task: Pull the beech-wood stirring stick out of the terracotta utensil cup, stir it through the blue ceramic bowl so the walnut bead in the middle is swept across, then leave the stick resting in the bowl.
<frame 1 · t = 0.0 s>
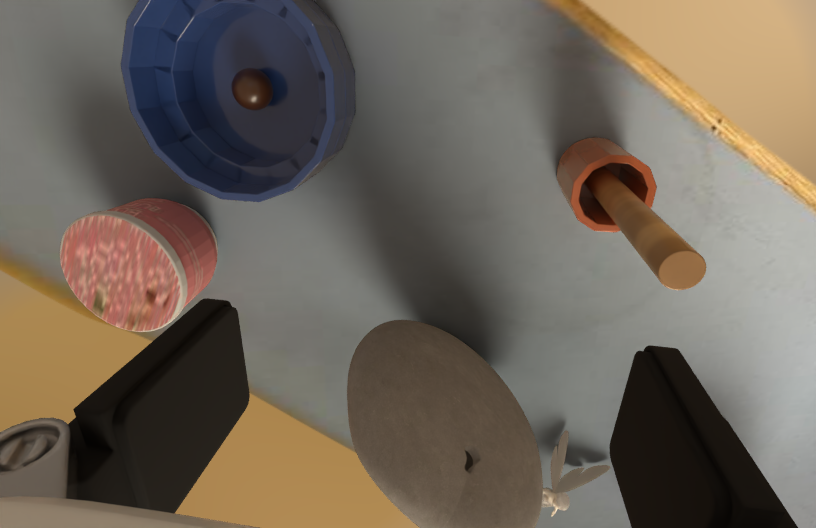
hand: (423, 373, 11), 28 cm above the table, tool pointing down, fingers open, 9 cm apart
bead: (252, 89, 35), point 2 cm above the table, touching bowl
fairy figurine: (553, 464, 48), on the table
brown oval piece: (457, 349, 44), on the table
holder: (590, 170, 36), on the table
container: (181, 239, 44), on the table
bowl: (264, 87, 37), on the table
stick: (591, 171, 35), resting on holder
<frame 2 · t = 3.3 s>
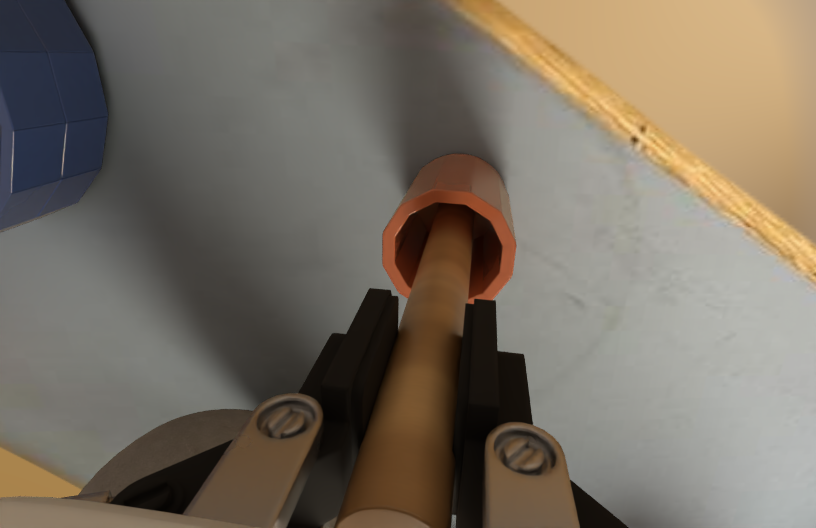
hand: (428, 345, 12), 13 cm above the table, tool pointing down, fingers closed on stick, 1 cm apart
brown oval piece: (311, 438, 32), on the table
holder: (457, 202, 24), on the table
stick: (457, 205, 23), point 1 cm above the table, touching gripper, holder
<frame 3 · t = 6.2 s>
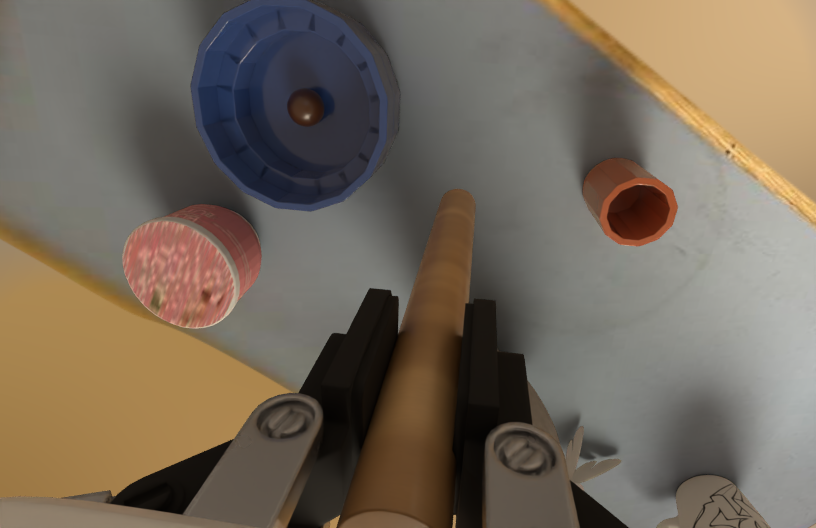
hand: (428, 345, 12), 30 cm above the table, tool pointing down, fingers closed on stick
bead: (305, 107, 38), point 2 cm above the table, touching bowl
fairy figurine: (567, 458, 52), on the table
brown oval piece: (481, 349, 48), on the table
holder: (613, 187, 39), on the table
container: (226, 242, 47), on the table
bowl: (314, 105, 40), on the table
mug: (691, 497, 51), on the table
stick: (457, 206, 23), point 18 cm above the table, touching gripper
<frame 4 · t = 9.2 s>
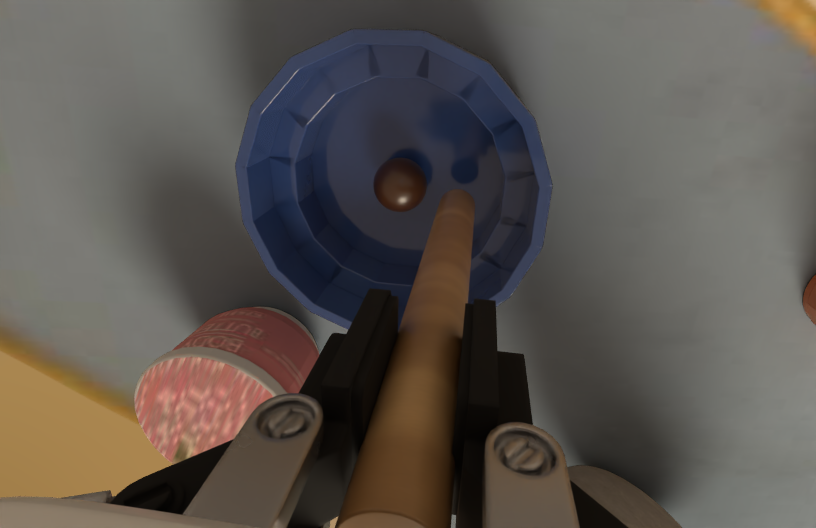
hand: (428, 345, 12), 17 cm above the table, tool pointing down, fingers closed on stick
bead: (400, 185, 26), point 2 cm above the table, touching bowl
brown oval piece: (618, 487, 35), on the table
container: (272, 348, 35), on the table
bowl: (406, 176, 28), on the table
stick: (457, 206, 23), point 4 cm above the table, touching gripper
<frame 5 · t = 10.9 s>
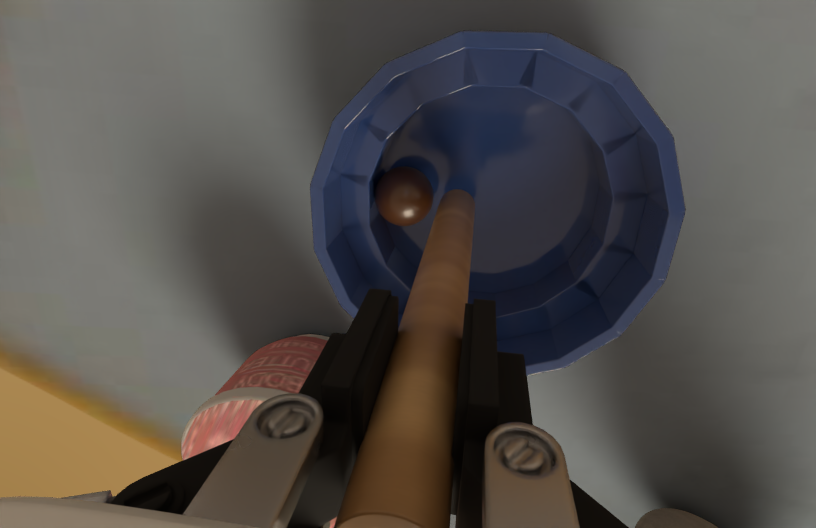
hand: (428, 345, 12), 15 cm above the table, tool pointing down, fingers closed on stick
bead: (404, 196, 23), point 2 cm above the table, tilted 156°, touching bowl
container: (320, 379, 32), on the table
bowl: (484, 194, 25), on the table
stick: (457, 206, 23), point 2 cm above the table, touching gripper
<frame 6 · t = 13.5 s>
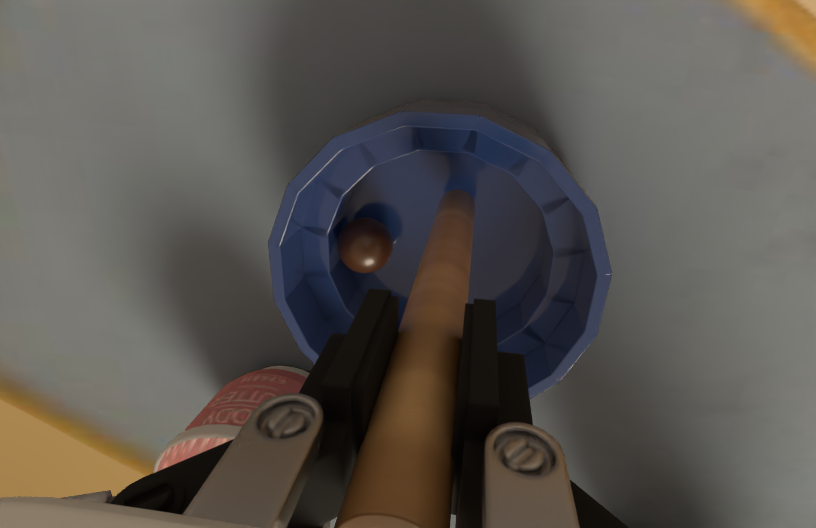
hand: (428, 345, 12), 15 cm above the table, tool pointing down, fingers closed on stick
bead: (365, 245, 25), point 2 cm above the table, tilted 150°, touching bowl
container: (292, 407, 33), on the table
bowl: (441, 240, 26), on the table
stick: (457, 206, 23), point 2 cm above the table, touching gripper
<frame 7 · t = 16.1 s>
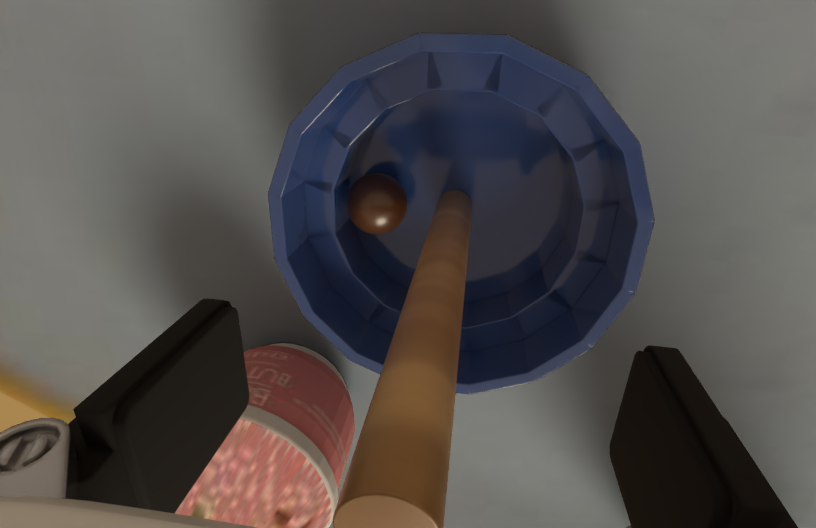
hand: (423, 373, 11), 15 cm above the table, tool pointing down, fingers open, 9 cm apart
bead: (377, 203, 23), point 2 cm above the table, tilted 145°, touching bowl
container: (295, 388, 31), on the table
bowl: (456, 200, 24), on the table
stick: (454, 206, 24), point 1 cm above the table, touching bowl
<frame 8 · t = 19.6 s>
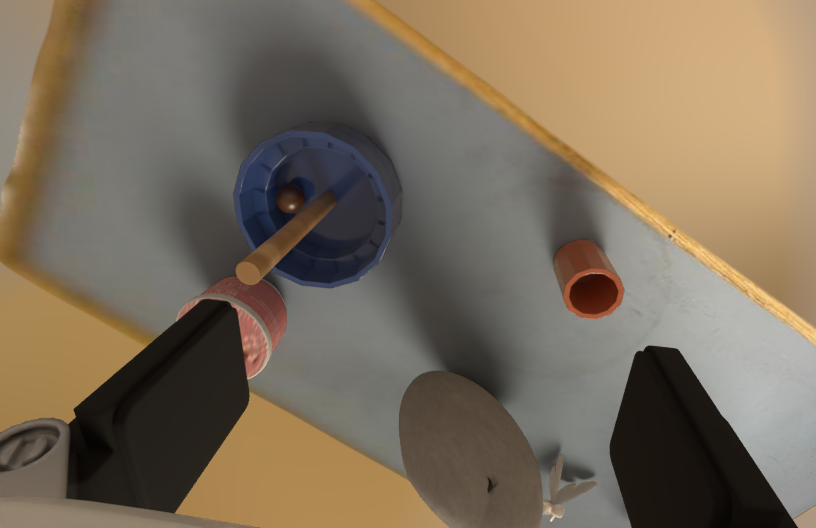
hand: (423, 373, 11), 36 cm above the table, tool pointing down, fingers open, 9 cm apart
bead: (290, 198, 47), point 2 cm above the table, tilted 137°, touching bowl
fairy figurine: (551, 480, 60), on the table
brown oval piece: (474, 390, 56), on the table
holder: (579, 262, 47), on the table
container: (256, 303, 56), on the table
bowl: (331, 197, 48), on the table
stick: (328, 200, 48), point 1 cm above the table, touching bowl
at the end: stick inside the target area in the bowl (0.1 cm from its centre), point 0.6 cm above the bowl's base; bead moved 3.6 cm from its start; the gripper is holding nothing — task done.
